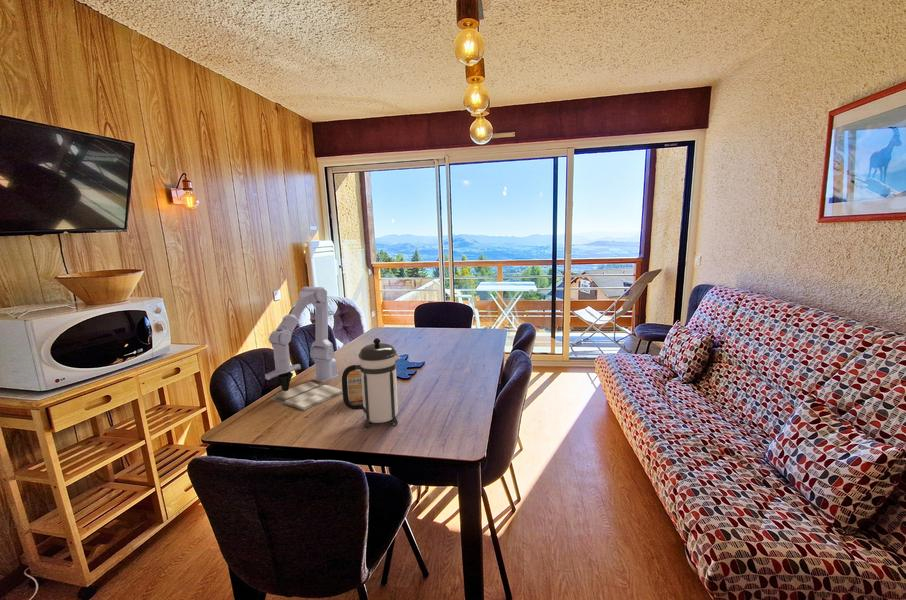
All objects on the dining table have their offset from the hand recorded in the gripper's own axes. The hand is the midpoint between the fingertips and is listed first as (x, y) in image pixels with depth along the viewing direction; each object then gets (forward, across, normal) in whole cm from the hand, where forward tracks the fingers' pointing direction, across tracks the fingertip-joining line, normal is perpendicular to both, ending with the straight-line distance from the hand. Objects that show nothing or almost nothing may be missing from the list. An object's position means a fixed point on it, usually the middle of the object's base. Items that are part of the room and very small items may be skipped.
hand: (285, 390), depth 151 cm
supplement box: (+3, -14, +28) cm, 32 cm away
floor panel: (+3, -5, +8) cm, 10 cm away
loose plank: (+2, -5, +2) cm, 6 cm away
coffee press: (+3, -4, +48) cm, 49 cm away
